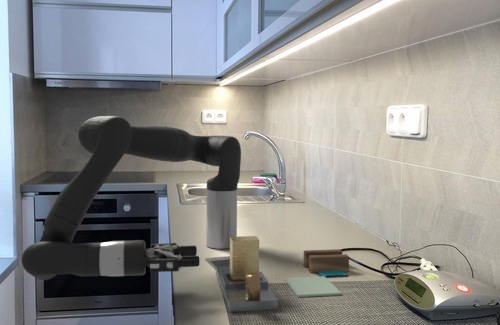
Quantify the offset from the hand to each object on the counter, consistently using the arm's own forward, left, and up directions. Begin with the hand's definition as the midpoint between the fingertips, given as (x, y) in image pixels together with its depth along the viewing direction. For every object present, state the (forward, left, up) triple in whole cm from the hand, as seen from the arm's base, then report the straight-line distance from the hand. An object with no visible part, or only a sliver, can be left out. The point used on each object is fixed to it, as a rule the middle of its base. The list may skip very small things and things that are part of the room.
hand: (197, 255), depth 116 cm
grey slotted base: (0, +10, -8) cm, 13 cm away
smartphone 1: (-20, +9, -9) cm, 24 cm away
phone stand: (-14, +35, -8) cm, 38 cm away
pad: (0, +26, -8) cm, 28 cm away
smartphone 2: (-14, +34, -9) cm, 38 cm away
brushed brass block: (0, +10, -6) cm, 12 cm away
